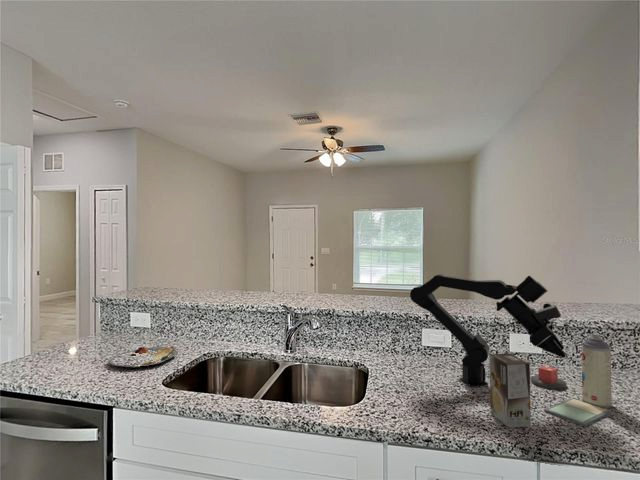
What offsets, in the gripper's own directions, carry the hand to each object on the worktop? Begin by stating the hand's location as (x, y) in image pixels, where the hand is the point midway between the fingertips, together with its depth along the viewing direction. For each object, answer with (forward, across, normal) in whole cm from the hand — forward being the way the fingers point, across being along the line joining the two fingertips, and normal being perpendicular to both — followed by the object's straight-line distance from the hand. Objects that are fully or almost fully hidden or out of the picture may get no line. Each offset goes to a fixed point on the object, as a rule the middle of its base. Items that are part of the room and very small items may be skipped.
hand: (563, 352), depth 112 cm
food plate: (-92, -39, +112) cm, 150 cm away
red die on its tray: (+7, +11, +12) cm, 18 cm away
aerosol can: (+15, 0, +4) cm, 16 cm away
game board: (+11, -10, +8) cm, 17 cm away
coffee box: (0, -23, +19) cm, 30 cm away
